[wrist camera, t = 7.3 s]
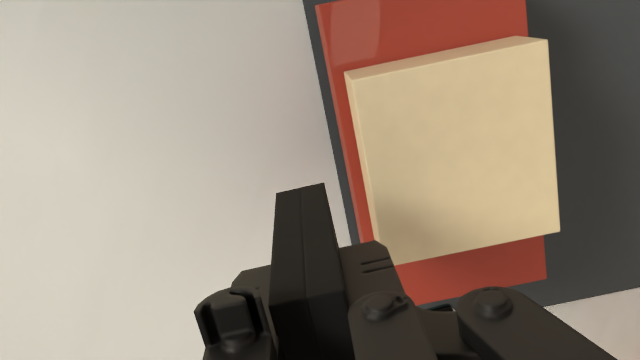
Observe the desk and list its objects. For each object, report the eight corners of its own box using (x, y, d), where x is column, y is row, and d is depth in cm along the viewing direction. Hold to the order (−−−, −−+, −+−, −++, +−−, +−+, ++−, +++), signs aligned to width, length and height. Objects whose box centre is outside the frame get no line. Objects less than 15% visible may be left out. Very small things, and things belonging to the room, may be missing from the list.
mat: (291, -54, 23) (291, -55, 23) (661, -133, 23) (664, -134, 23) (370, 340, 29) (371, 342, 29) (662, 280, 29) (665, 282, 29)
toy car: (322, 4, 17) (557, -45, 17) (313, 5, 24) (481, -30, 24) (387, 349, 21) (577, 311, 21) (364, 267, 28) (508, 238, 28)
